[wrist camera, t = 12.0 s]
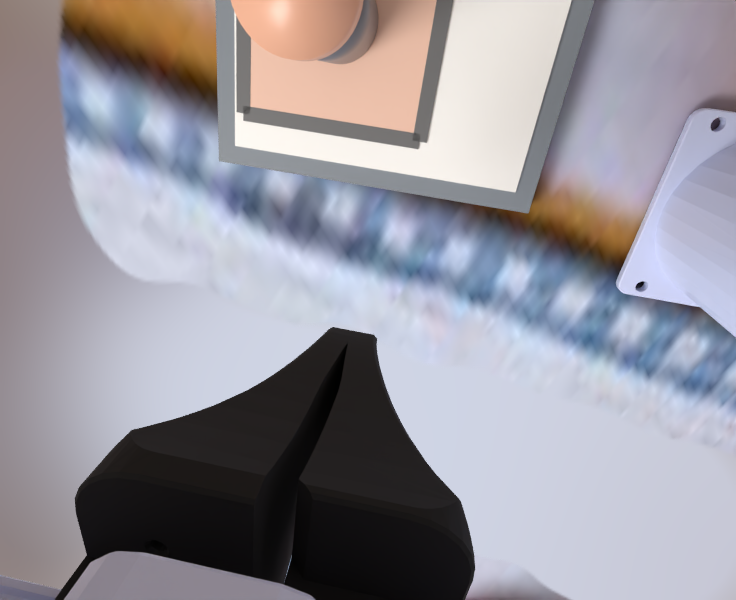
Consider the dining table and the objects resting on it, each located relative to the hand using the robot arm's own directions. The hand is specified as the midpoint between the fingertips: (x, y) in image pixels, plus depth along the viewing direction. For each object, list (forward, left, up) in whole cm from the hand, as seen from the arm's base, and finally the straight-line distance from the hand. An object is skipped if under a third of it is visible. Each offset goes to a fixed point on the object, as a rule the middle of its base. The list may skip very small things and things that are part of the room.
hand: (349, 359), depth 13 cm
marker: (+3, -9, -9) cm, 13 cm away
